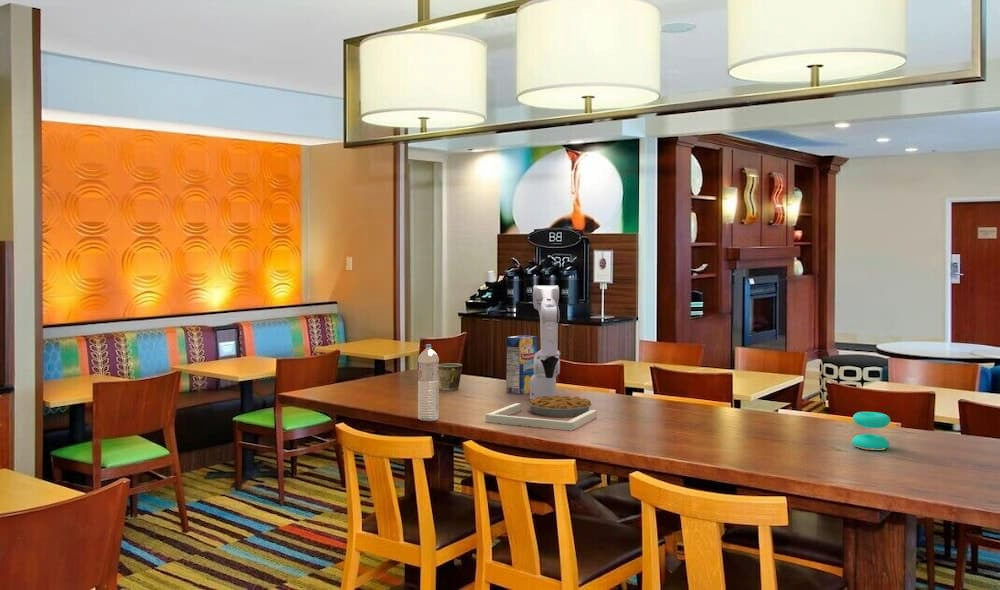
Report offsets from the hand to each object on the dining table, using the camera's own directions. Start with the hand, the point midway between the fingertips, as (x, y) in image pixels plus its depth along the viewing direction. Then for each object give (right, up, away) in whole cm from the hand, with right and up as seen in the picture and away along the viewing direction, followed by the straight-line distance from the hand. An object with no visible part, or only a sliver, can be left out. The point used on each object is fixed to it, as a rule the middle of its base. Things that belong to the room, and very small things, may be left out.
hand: (549, 377), depth 323 cm
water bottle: (-42, -12, -25) cm, 50 cm away
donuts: (+90, -15, -63) cm, 111 cm away
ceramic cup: (-37, -8, +36) cm, 52 cm away
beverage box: (-9, -9, +32) cm, 35 cm away
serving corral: (-4, -12, -24) cm, 27 cm away
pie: (+3, -11, -10) cm, 15 cm away
